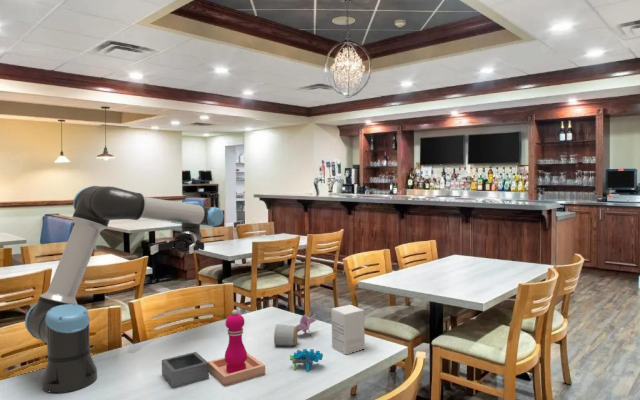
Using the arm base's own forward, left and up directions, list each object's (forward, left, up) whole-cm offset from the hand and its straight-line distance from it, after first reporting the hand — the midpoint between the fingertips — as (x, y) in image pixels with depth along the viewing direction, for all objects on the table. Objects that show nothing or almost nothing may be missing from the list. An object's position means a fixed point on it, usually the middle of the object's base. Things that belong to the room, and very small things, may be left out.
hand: (171, 250), depth 161 cm
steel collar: (-3, -20, -38) cm, 43 cm away
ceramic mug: (+38, -15, -38) cm, 56 cm away
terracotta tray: (+12, -27, -38) cm, 48 cm away
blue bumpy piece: (+32, -38, -38) cm, 63 cm away
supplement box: (+54, -33, -38) cm, 74 cm away
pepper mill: (+12, -27, -37) cm, 48 cm away
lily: (+48, -13, -38) cm, 63 cm away
